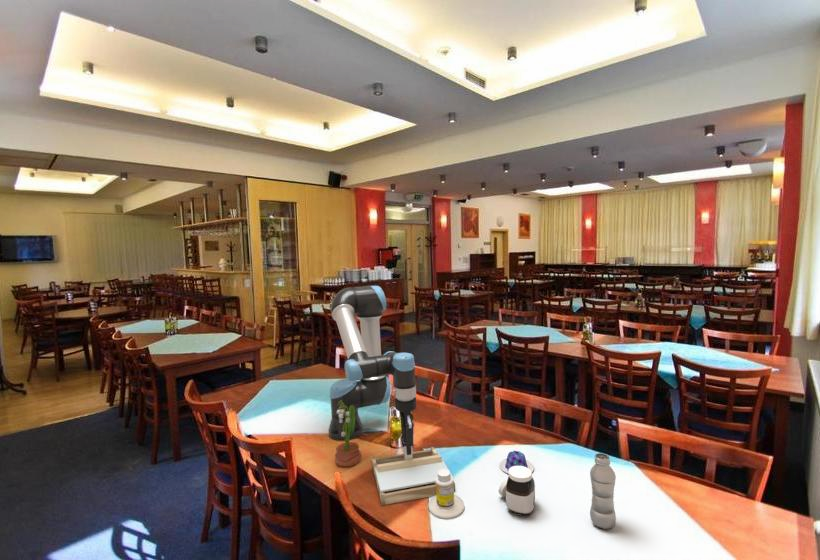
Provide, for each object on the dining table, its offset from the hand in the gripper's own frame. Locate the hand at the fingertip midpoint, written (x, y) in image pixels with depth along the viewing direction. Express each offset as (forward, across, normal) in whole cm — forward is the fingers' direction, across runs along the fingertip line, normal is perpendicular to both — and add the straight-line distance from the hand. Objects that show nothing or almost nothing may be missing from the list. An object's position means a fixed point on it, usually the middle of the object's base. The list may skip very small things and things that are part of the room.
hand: (408, 461), depth 144 cm
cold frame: (+5, +2, 0) cm, 5 cm away
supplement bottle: (+4, +21, +7) cm, 23 cm away
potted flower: (+5, -14, -21) cm, 26 cm away
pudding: (+5, +7, +38) cm, 39 cm away
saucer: (+5, +21, +7) cm, 23 cm away
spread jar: (+5, +26, +28) cm, 39 cm away
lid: (+1, +7, 0) cm, 7 cm away
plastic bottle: (+5, +41, +47) cm, 63 cm away
